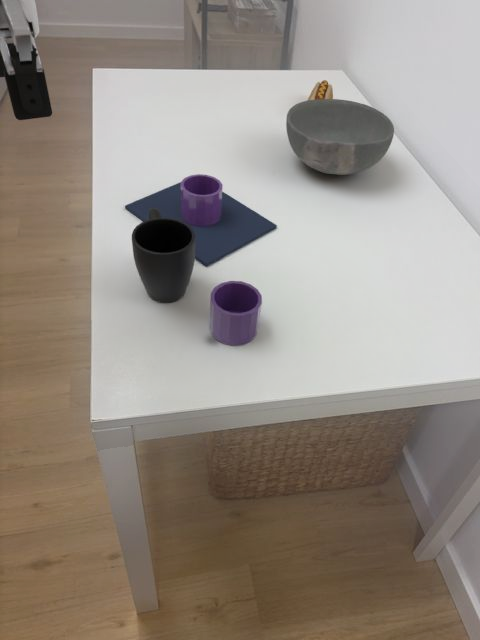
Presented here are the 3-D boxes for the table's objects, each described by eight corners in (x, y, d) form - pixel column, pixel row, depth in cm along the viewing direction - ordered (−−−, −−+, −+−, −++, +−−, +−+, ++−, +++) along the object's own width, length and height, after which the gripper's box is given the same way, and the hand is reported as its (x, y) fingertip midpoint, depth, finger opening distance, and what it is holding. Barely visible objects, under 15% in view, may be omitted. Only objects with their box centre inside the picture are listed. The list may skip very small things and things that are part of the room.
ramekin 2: (199, 326, 71) (199, 295, 67) (234, 304, 75) (236, 274, 71) (233, 353, 69) (236, 323, 65) (267, 329, 72) (272, 299, 68)
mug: (185, 253, 82) (184, 199, 75) (200, 305, 74) (200, 251, 67) (131, 258, 80) (124, 203, 73) (141, 313, 72) (135, 257, 65)
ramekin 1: (173, 213, 88) (172, 183, 83) (202, 199, 91) (203, 170, 87) (200, 231, 85) (200, 201, 81) (229, 217, 88) (231, 187, 84)
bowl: (386, 155, 110) (400, 106, 103) (375, 204, 97) (390, 153, 89) (293, 134, 112) (300, 86, 105) (269, 180, 99) (275, 128, 91)
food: (310, 97, 126) (313, 75, 123) (333, 101, 126) (337, 79, 122) (302, 121, 117) (305, 98, 113) (326, 126, 117) (330, 103, 113)
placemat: (125, 208, 88) (124, 205, 88) (196, 178, 97) (196, 175, 96) (206, 267, 80) (206, 263, 80) (276, 228, 89) (276, 225, 88)
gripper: (-106, -170, 41) (-36, 64, 54) (-80, -132, 32) (-2, 142, 44) (-4, -162, 44) (40, 58, 57) (49, -126, 34) (87, 130, 47)
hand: (21, 94), depth 50 cm, fingers open, 9 cm apart
